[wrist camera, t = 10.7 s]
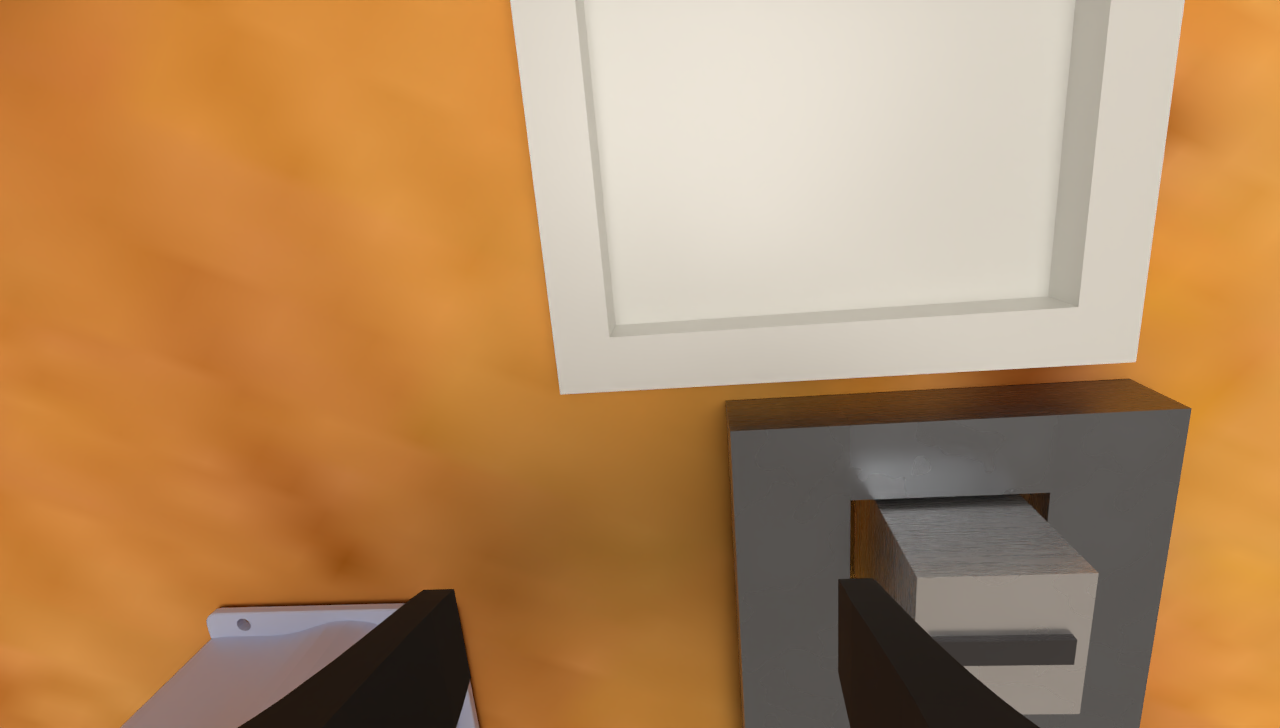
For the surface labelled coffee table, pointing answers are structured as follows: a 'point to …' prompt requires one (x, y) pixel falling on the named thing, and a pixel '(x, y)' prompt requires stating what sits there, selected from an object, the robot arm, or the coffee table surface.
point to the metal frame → (943, 467)
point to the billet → (987, 590)
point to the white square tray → (842, 184)
